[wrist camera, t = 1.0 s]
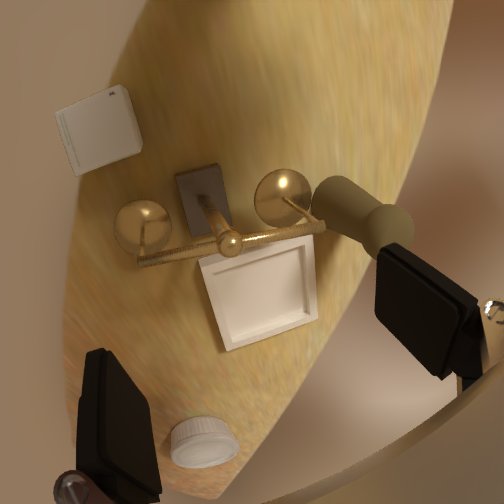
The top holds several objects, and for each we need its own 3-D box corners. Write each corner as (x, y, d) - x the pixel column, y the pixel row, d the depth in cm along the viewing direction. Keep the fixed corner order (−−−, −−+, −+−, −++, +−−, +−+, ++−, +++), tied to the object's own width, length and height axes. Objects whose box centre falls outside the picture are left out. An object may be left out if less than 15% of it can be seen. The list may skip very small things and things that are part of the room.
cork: (347, 229, 36) (409, 274, 26) (304, 223, 33) (364, 271, 24) (362, 181, 33) (432, 214, 24) (319, 170, 31) (389, 201, 22)
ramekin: (196, 450, 48) (202, 473, 43) (151, 432, 42) (155, 459, 37) (243, 424, 47) (253, 448, 43) (202, 402, 42) (210, 430, 37)
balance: (108, 195, 26) (84, 252, 15) (281, 148, 29) (355, 176, 19) (128, 252, 29) (122, 333, 18) (288, 205, 32) (356, 257, 21)
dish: (197, 259, 31) (200, 267, 30) (305, 227, 34) (312, 233, 32) (223, 341, 37) (226, 351, 36) (311, 310, 39) (317, 318, 38)
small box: (68, 111, 21) (52, 112, 17) (127, 87, 22) (122, 81, 18) (86, 168, 24) (74, 180, 20) (145, 145, 25) (143, 152, 21)
